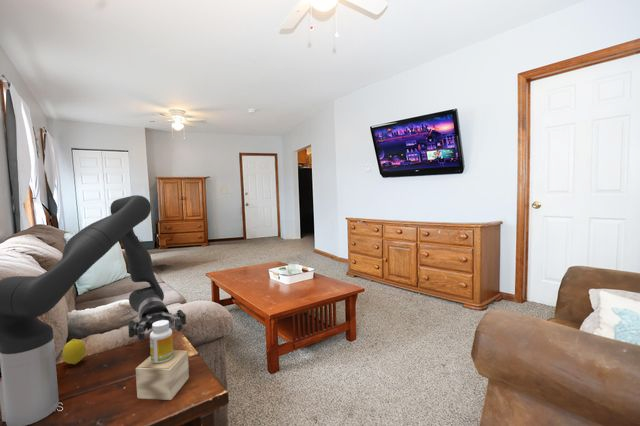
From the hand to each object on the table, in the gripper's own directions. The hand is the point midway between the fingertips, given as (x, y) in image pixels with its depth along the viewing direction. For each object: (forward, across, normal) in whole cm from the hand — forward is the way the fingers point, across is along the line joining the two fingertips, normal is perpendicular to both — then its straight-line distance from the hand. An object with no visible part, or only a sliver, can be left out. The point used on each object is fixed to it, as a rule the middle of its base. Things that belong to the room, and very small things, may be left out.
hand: (161, 332), depth 81 cm
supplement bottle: (0, 0, +7) cm, 7 cm away
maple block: (0, 0, +15) cm, 15 cm away
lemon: (-29, -20, +16) cm, 39 cm away
